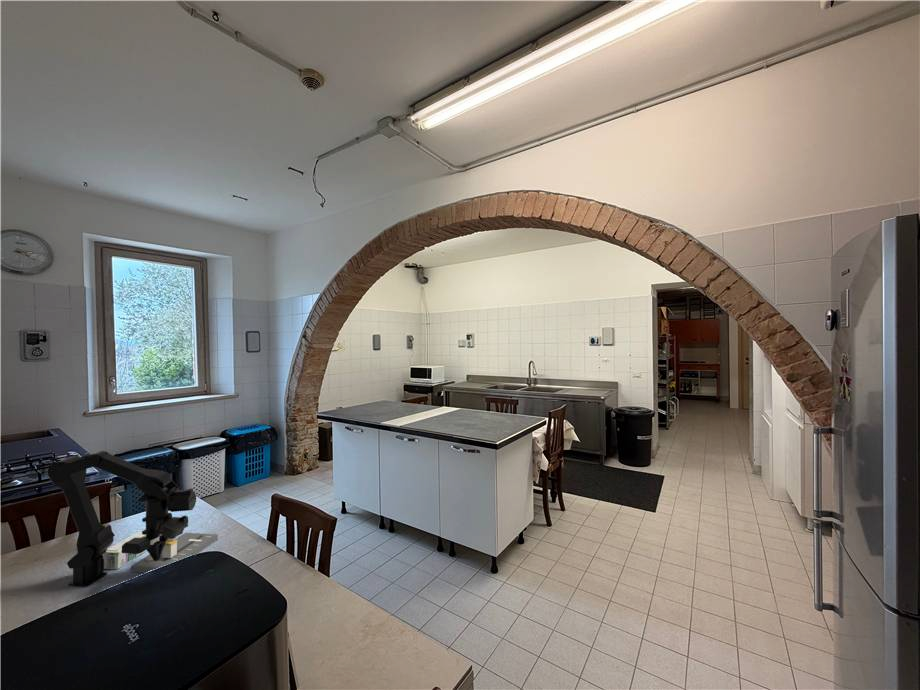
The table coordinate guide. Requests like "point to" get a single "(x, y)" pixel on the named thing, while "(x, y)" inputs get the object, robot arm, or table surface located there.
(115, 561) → the syrup box
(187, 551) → the console
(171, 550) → the fader
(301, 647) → the table surface
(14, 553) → the table surface
